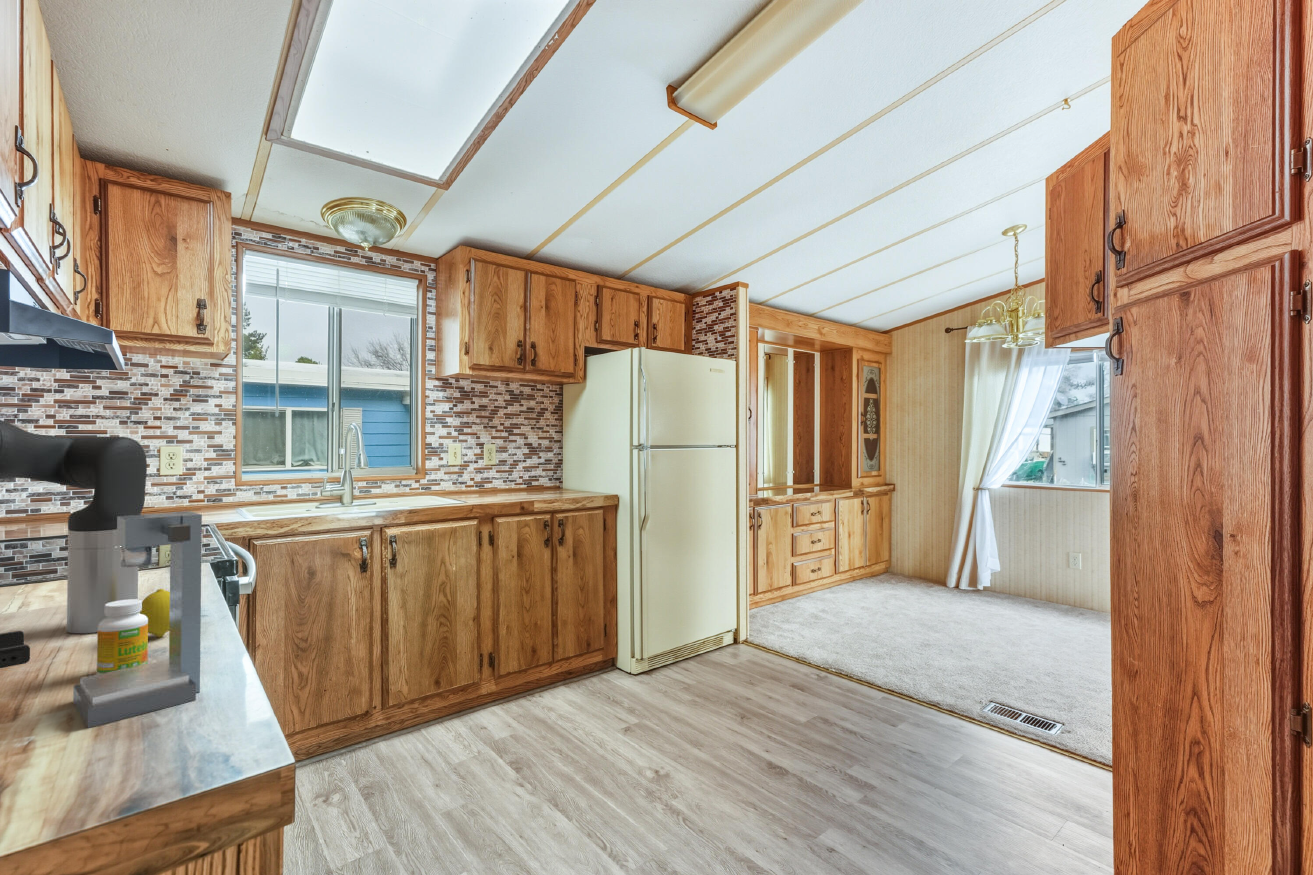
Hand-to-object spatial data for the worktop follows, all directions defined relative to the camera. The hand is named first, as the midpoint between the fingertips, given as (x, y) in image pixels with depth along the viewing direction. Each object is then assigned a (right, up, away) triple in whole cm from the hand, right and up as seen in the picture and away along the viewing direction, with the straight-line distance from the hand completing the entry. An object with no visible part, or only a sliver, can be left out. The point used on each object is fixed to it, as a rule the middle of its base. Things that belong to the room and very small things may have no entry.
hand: (26, 645), depth 79 cm
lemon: (-1, -6, +22) cm, 23 cm away
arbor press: (+18, -6, -3) cm, 19 cm away
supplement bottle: (+6, -6, +7) cm, 11 cm away
